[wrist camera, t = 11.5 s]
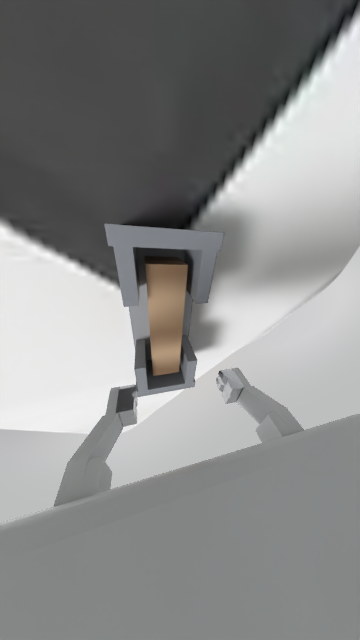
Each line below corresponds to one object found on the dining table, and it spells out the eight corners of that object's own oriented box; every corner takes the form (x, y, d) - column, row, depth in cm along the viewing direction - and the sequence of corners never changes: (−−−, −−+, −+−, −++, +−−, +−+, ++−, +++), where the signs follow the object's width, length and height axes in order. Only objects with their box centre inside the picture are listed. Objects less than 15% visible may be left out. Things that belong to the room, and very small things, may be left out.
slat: (144, 256, 14) (145, 264, 11) (177, 256, 15) (187, 264, 12) (151, 353, 22) (153, 375, 19) (173, 351, 23) (178, 372, 19)
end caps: (118, 225, 13) (104, 223, 8) (197, 231, 15) (224, 232, 10) (137, 362, 24) (136, 397, 19) (184, 356, 25) (194, 386, 20)
